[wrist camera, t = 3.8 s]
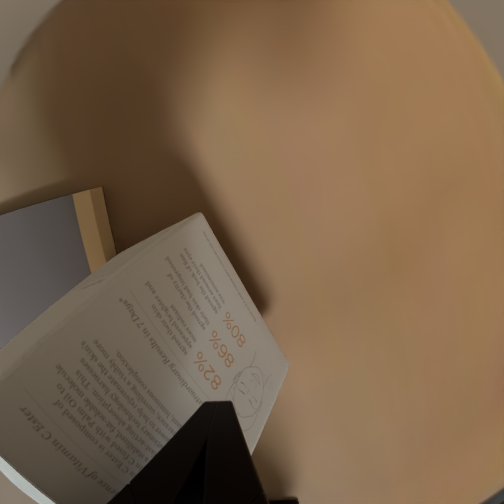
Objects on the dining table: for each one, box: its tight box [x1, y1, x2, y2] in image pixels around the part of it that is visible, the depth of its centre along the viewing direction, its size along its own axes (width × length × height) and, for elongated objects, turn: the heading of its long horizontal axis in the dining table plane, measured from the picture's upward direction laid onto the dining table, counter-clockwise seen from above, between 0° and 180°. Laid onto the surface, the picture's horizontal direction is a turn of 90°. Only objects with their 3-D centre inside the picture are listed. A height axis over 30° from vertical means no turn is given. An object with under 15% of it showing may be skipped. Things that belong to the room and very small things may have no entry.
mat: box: [0, 187, 117, 349], centre depth 16 cm, size 12×14×1 cm
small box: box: [0, 212, 290, 504], centre depth 10 cm, size 8×6×10 cm
